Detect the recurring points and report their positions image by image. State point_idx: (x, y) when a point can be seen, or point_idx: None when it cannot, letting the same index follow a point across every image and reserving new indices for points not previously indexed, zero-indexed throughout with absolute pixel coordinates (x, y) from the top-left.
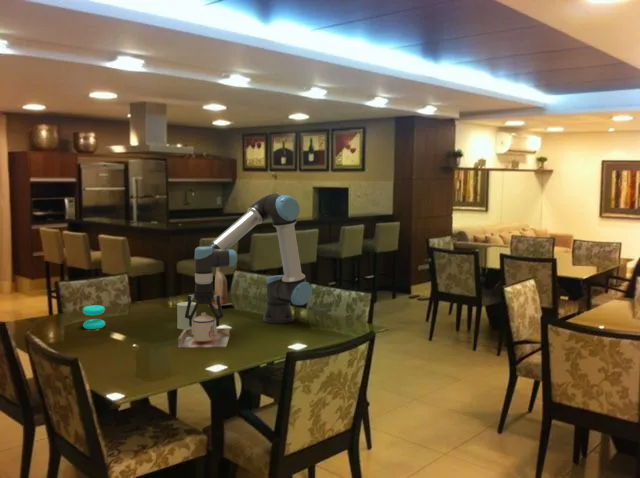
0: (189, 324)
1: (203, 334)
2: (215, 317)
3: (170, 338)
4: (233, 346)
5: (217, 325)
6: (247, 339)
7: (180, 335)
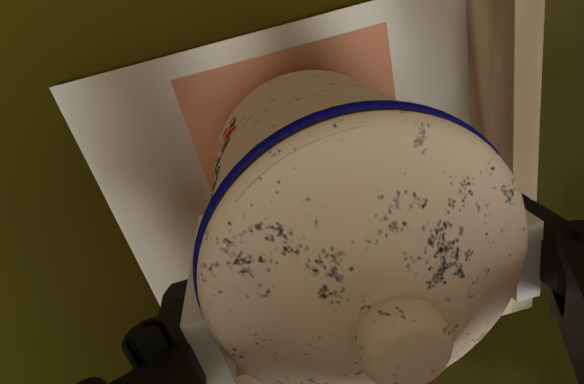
0: (525, 198)
1: (288, 86)
2: (186, 354)
3: (578, 219)
4: (2, 129)
5: (180, 287)
6: (21, 339)
7: (537, 90)
